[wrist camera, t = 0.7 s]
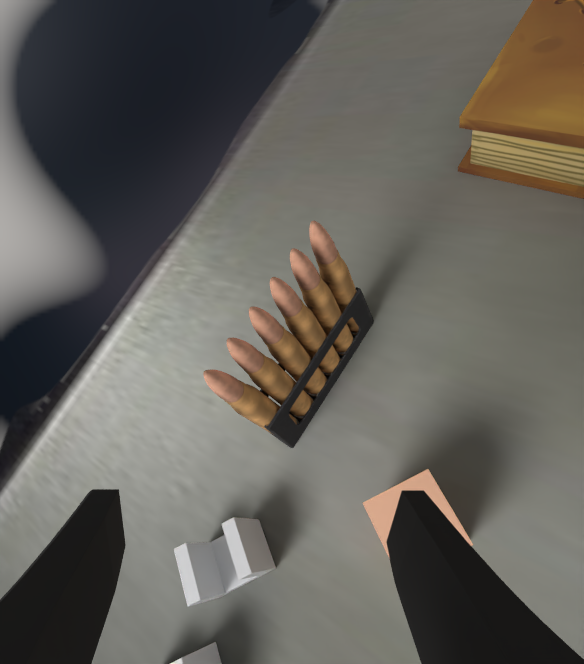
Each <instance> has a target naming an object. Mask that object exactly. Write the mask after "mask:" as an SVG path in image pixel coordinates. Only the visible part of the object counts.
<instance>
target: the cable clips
mask: <svg viewBox="0 0 584 664" xmlns="http://www.w3.org/2000/svg"><path fill="white" fill-rule="evenodd" d="M222 527H223V530H224V534H225V535H223V536H221V537H219V538H217V539H215V540H214V541H212V542H198V543H185V544H183V545H181V546H179V547H177V548H175V549H174V552H175V556H176V560H177V564H178V568H179V572H180V577H181V581H182V585H183V589H184V593H185V597H186V602H187V606H192V605H195V604H199V603H202V602H206V601H209V600H213V599H217V598H220V597H222V596H224V595H226V594H228V593H230V592H232V591H234V590H235V589H237V588H239V587H241V586H243V585H245V584H247V583H249V582H251V581H253V580H255V579H257V578H259V577H261V576H262V575H264V574H266V573H268V572H270V571H272V570H274V569H276V567H275V564H274V561H273V558H272V555H271V552H270V549H269V547H268V544H267V541H266V538H265V535H264V532H263V530H262V527H261V524H260V521H259V519H248V518H236V517H233V518H231V519H229V520H228V521H226V522H224V523H222ZM170 664H222V663H221V660H220V656H219V652H218V648H217V644H216V642H214V643H212V644H210V645H208V646H205V647H203V648H201V649H199V650H197V651H195V652H193V653H191V654H188V655H186V656H184V657H182V658H180V659H178V660H176V661H174V662H172V663H170Z"/></svg>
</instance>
